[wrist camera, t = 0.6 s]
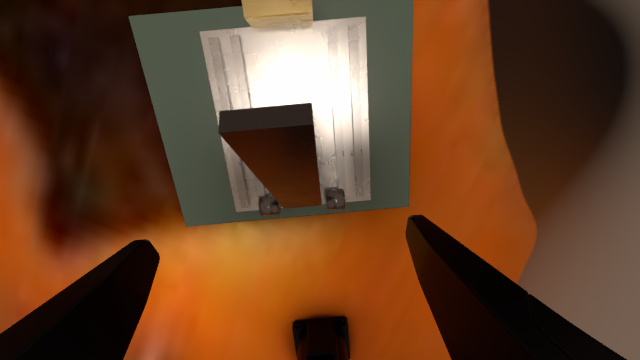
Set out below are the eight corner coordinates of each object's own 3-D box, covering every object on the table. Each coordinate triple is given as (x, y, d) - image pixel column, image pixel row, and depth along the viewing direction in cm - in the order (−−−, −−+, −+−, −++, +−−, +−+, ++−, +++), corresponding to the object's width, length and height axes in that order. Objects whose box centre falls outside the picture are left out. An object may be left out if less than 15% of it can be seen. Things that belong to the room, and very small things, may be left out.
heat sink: (362, 189, 23) (377, 213, 18) (248, 199, 23) (228, 226, 18) (355, 4, 19) (371, -36, 13) (214, 17, 19) (175, -18, 13)
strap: (321, 195, 19) (321, 205, 19) (283, 199, 19) (283, 208, 19) (311, 102, 8) (313, 124, 8) (219, 111, 8) (218, 132, 8)
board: (405, 202, 25) (408, 206, 24) (191, 221, 25) (186, 226, 24) (408, -4, 19) (413, -10, 18) (137, 20, 19) (128, 16, 18)
